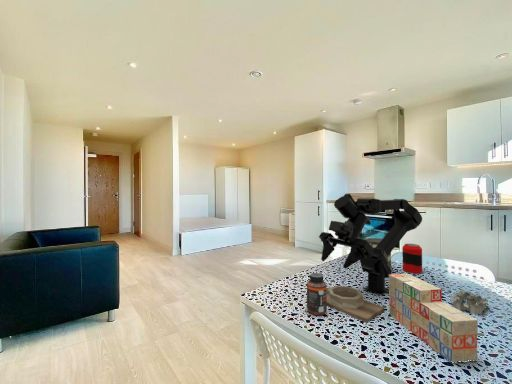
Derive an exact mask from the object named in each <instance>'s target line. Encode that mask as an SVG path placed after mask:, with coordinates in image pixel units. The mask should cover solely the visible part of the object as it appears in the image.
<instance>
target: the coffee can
mask: <svg viewBox="0 0 512 384" xmlns="http://www.w3.org/2000/svg"><path fill="white" fill-rule="evenodd" d="M382 239H383V238H377V237H375V238H374V237H372V238H366V239H365V240H367V241H368V242H369V243H370V245H371V246H372V247H373V248H375V247H376V246H377V245H378V244H379V243H380V241H381V240H382ZM387 265H388V266H389V267H390V269H391V270H392V252H391V253H390V254H389V255H388V264H387Z"/></svg>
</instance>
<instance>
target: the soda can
mask: <svg viewBox="0 0 512 384" xmlns="http://www.w3.org/2000/svg"><path fill="white" fill-rule="evenodd" d="M401 249H402V251H401V253H402V270H403V272H405V273H408V274H418V273H419V274H422V273H423V249H422V247H421V245H420V244H416V243H405V244H404V245H403V246H402V248H401Z"/></svg>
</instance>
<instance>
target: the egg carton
mask: <svg viewBox="0 0 512 384" xmlns="http://www.w3.org/2000/svg"><path fill="white" fill-rule="evenodd" d="M450 298H451V301H452V307H454V308H456V309H458V310H460V311H465V310H467V311H466V312H468V311H469V314H470V313H472V314H471V315H473V314H481V315H482V314H483V311H484V312H485V309H486V308H485V307H487V303H488V302H489V301H488V298H487V297H485V298H483V297H482V296H481V295H479V294H478V295H477V294H475V293H472V292H468V291H465V290H464V289H462V288H461V289H460V290H459V291H458V292H455V293H454V294H453V295H451V296H450ZM463 300H465V301H466V300H467V301H466V303H464V302H463ZM462 302H463V303H462ZM476 303H477V304H476ZM487 308H488V307H487Z"/></svg>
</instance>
